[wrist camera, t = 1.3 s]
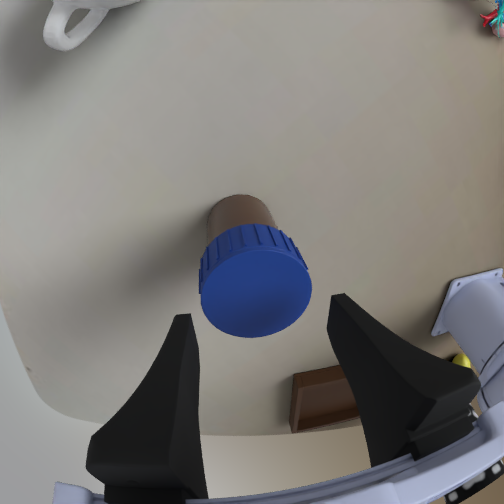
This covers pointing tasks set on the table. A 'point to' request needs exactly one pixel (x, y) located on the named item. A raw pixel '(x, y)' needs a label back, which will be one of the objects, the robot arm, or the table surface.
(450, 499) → the spotted tube
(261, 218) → the jar
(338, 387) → the tray
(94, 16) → the cup
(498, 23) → the anatomy model
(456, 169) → the table surface
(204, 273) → the jar lid
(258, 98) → the table surface
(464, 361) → the lemon
